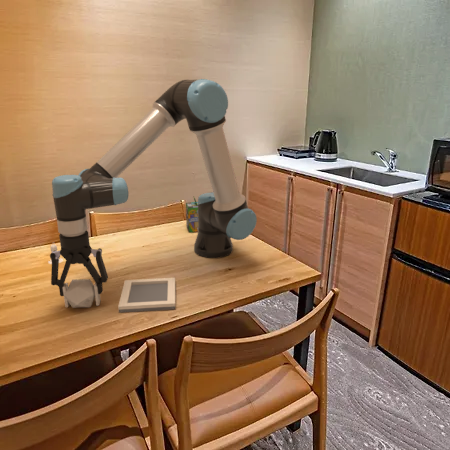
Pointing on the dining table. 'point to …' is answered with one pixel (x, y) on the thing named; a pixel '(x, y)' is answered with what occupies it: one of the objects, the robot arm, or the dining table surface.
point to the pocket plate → (147, 295)
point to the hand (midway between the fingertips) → (83, 303)
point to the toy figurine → (54, 247)
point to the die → (80, 293)
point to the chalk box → (192, 216)
